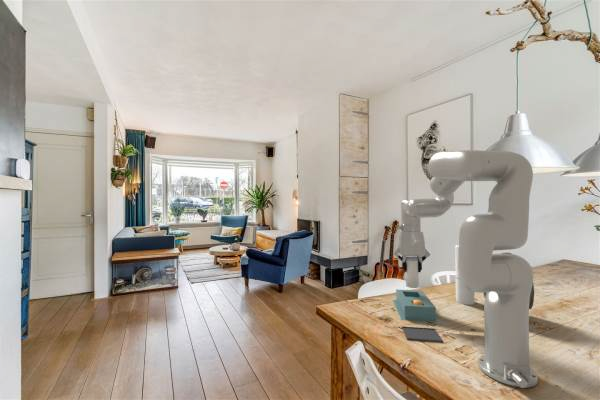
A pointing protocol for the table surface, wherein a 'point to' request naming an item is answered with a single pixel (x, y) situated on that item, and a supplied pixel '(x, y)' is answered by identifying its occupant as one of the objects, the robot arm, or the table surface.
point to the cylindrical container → (461, 291)
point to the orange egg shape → (417, 302)
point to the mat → (421, 334)
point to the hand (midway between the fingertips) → (411, 271)
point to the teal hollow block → (414, 306)
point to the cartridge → (412, 272)
